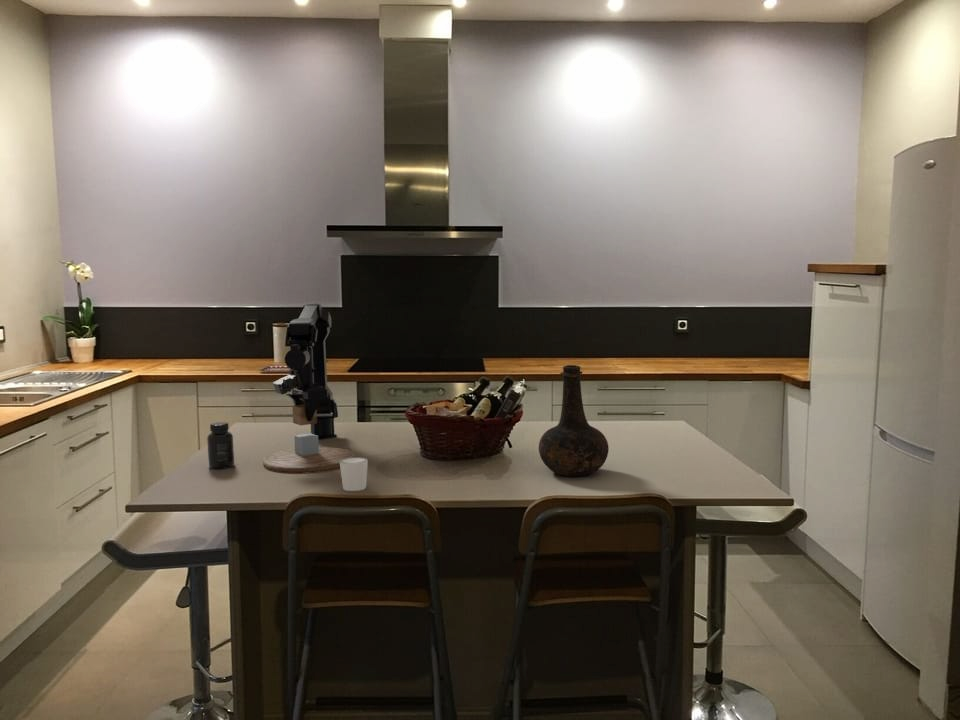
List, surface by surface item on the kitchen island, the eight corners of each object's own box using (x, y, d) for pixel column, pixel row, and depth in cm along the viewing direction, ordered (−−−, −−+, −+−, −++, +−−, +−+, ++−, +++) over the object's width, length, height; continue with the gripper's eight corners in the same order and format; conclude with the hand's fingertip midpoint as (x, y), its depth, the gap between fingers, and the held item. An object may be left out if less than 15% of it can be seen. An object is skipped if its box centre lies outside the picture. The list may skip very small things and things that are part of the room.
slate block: (311, 450, 244) (310, 433, 244) (318, 453, 240) (318, 436, 240) (295, 452, 242) (294, 435, 241) (302, 455, 238) (301, 438, 237)
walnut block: (309, 420, 245) (308, 403, 244) (317, 423, 241) (316, 405, 240) (293, 422, 242) (292, 405, 241) (300, 425, 238) (300, 408, 237)
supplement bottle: (238, 463, 235) (236, 421, 234) (228, 469, 229) (226, 425, 227) (214, 463, 236) (212, 421, 235) (204, 469, 229) (202, 425, 228)
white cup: (341, 484, 211) (340, 457, 210) (369, 483, 212) (368, 456, 211) (339, 492, 204) (338, 463, 203) (367, 491, 205) (367, 462, 204)
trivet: (372, 462, 237) (372, 455, 237) (297, 479, 219) (297, 472, 219) (319, 449, 254) (319, 443, 254) (245, 464, 236) (245, 458, 236)
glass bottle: (616, 467, 224) (616, 362, 221) (596, 484, 208) (597, 371, 205) (552, 462, 231) (551, 360, 228) (529, 477, 215) (528, 368, 212)
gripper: (262, 364, 242) (265, 418, 244) (290, 371, 227) (293, 428, 229) (298, 361, 249) (300, 413, 250) (328, 367, 234) (330, 422, 236)
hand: (305, 419), depth 241 cm, fingers closed on walnut block, 5 cm apart
